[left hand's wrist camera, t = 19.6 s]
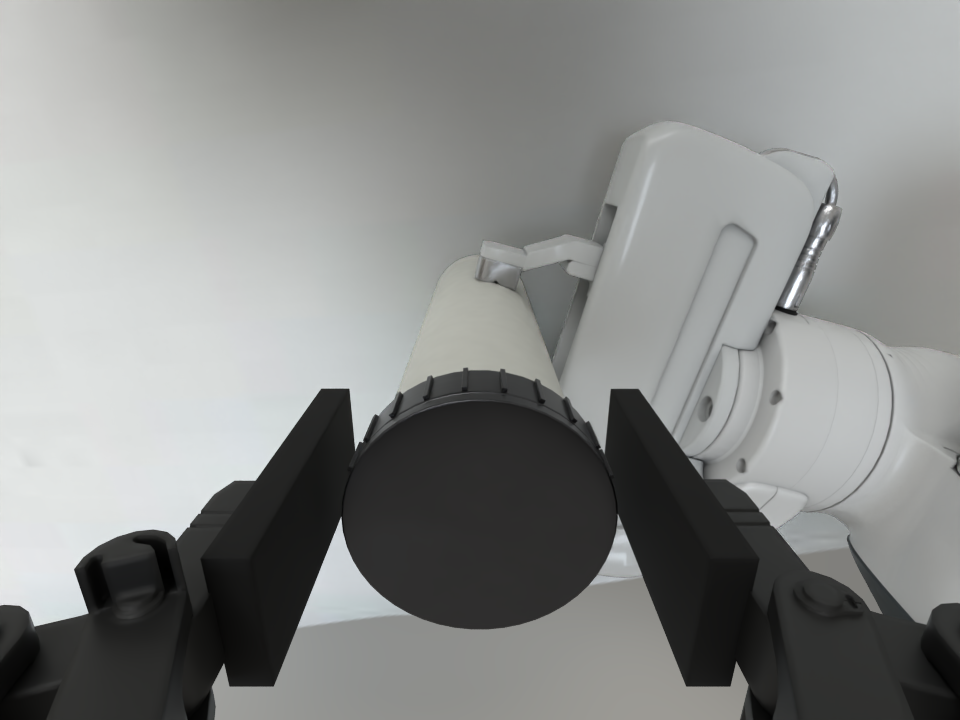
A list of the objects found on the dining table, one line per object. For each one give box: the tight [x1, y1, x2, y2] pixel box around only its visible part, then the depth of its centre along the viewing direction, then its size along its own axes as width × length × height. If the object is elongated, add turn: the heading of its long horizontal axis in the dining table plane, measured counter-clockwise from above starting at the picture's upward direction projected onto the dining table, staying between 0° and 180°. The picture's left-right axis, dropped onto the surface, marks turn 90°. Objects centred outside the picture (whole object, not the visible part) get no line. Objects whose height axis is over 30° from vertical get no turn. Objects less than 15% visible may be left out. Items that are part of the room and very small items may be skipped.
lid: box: [341, 367, 618, 629], centre depth 12 cm, size 6×6×2 cm
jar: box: [397, 255, 564, 399], centre depth 20 cm, size 5×5×19 cm
